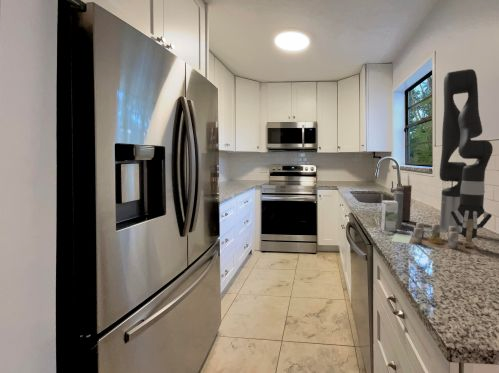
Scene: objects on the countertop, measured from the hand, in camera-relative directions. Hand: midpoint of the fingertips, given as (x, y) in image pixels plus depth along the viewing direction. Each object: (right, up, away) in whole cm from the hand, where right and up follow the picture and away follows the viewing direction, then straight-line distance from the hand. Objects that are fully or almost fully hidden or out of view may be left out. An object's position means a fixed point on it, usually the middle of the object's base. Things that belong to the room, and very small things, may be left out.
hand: (468, 237), depth 125 cm
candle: (+1, 0, +56) cm, 56 cm away
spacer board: (-8, -4, +5) cm, 10 cm away
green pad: (-20, -3, +12) cm, 24 cm away
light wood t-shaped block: (0, -3, 0) cm, 3 cm away
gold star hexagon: (-10, -3, +6) cm, 12 cm away
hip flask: (-8, -1, +43) cm, 43 cm away
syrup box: (-18, -2, +31) cm, 36 cm away
